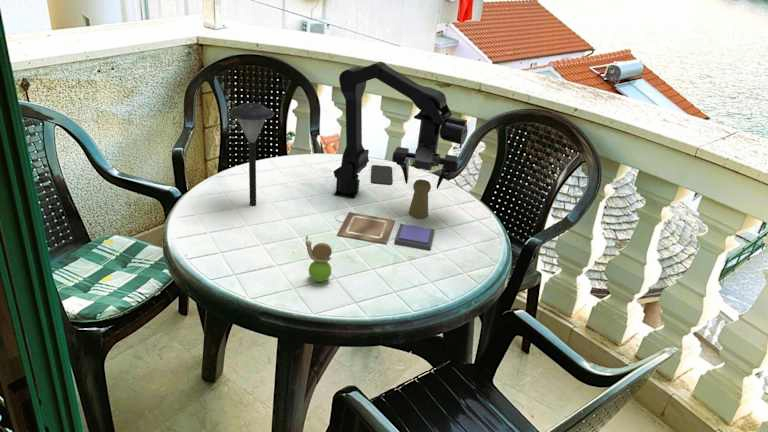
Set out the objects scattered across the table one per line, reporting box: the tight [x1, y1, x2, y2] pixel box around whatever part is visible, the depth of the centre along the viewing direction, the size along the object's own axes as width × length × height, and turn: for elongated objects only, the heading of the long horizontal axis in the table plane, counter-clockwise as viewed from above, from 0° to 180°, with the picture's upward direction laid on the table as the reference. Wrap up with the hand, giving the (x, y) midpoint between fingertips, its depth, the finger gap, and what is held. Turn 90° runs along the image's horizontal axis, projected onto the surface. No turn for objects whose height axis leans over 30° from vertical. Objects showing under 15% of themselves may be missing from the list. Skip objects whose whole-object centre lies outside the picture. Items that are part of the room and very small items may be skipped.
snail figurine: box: [305, 235, 333, 283], centre depth 137 cm, size 5×6×12 cm
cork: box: [408, 178, 432, 220], centre depth 172 cm, size 6×6×11 cm
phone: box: [370, 164, 394, 186], centre depth 198 cm, size 7×1×15 cm
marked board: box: [336, 211, 396, 245], centre depth 164 cm, size 14×14×1 cm
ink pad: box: [393, 223, 436, 251], centre depth 161 cm, size 10×10×2 cm
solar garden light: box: [228, 102, 275, 207], centre depth 163 cm, size 12×12×30 cm
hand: (421, 185), depth 171 cm, fingers open, 9 cm apart
